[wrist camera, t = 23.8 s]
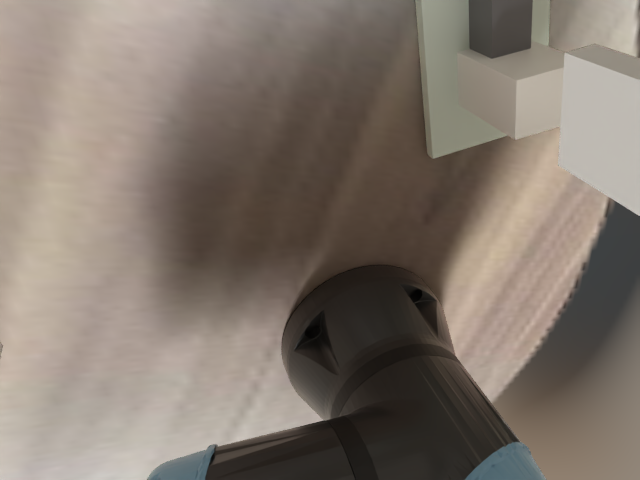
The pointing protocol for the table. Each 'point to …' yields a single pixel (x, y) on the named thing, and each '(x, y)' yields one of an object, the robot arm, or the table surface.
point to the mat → (455, 73)
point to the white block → (509, 70)
